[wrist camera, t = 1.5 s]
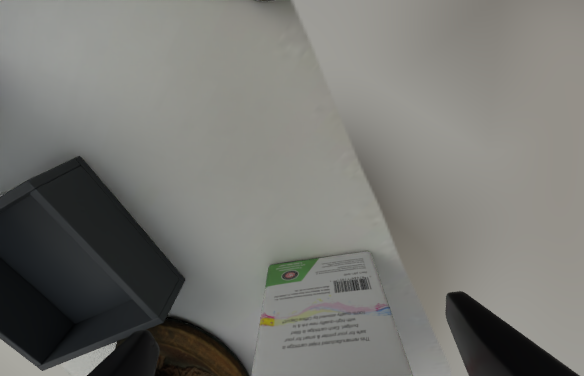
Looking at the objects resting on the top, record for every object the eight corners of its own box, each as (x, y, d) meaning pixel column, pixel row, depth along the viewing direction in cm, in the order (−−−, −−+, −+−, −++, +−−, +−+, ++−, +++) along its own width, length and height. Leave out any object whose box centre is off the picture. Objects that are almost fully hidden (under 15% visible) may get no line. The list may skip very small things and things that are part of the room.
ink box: (279, 306, 27) (265, 477, 16) (267, 262, 25) (240, 424, 14) (375, 294, 26) (428, 466, 15) (370, 247, 24) (426, 409, 13)
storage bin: (185, 279, 26) (163, 322, 22) (79, 325, 29) (42, 371, 24) (79, 155, 21) (27, 180, 17) (-35, 224, 24) (-104, 259, 20)
